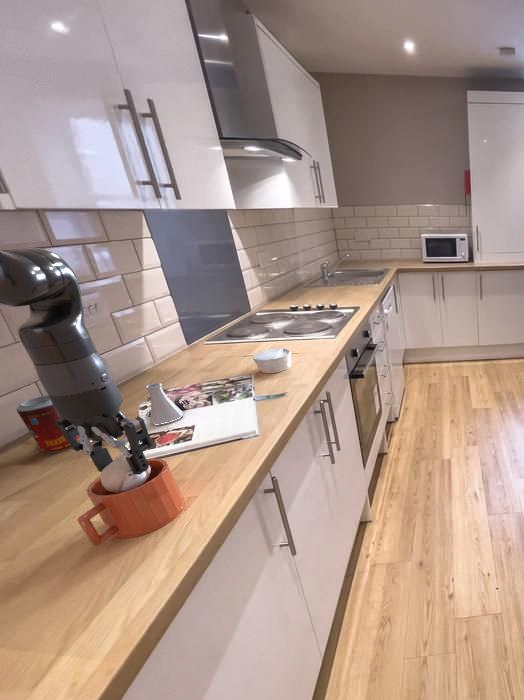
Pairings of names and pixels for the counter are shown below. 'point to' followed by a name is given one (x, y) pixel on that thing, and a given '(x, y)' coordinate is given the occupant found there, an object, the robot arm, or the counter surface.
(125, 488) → the garlic bulb
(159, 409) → the flask
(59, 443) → the soda can
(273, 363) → the ramekin
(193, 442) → the counter surface
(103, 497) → the mug
